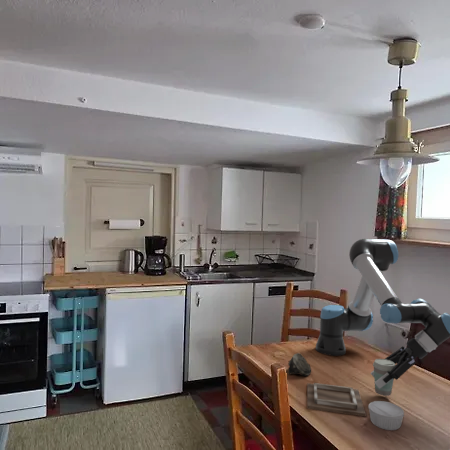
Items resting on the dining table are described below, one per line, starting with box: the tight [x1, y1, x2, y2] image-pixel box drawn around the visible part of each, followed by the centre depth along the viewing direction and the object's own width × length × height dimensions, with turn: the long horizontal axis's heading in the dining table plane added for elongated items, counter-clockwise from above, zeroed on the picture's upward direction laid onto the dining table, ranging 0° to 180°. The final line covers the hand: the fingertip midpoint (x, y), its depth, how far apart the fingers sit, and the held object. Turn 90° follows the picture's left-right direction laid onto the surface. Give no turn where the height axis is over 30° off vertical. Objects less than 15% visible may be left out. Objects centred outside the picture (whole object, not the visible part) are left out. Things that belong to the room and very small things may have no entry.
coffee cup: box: [372, 358, 396, 397], centre depth 154 cm, size 8×8×12 cm
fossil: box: [287, 352, 312, 377], centre depth 175 cm, size 11×9×10 cm
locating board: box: [306, 382, 367, 417], centre depth 150 cm, size 20×20×2 cm
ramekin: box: [367, 400, 405, 431], centre depth 134 cm, size 11×11×5 cm
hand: (374, 380), depth 155 cm, fingers closed on coffee cup, 8 cm apart
